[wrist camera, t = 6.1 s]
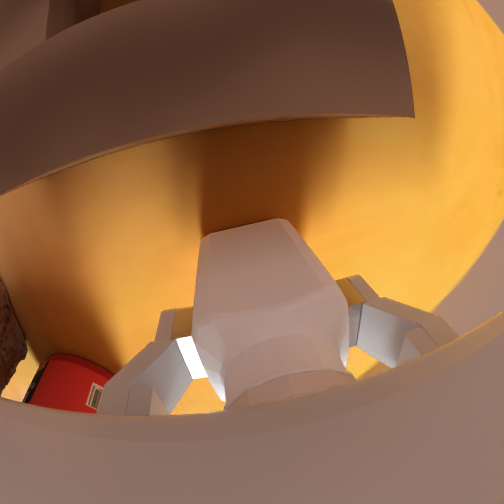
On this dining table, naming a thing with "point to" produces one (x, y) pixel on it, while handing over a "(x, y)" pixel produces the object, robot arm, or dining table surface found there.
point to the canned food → (68, 384)
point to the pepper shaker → (267, 317)
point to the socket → (184, 72)
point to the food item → (9, 340)
